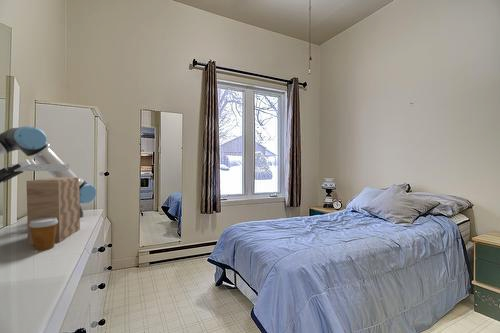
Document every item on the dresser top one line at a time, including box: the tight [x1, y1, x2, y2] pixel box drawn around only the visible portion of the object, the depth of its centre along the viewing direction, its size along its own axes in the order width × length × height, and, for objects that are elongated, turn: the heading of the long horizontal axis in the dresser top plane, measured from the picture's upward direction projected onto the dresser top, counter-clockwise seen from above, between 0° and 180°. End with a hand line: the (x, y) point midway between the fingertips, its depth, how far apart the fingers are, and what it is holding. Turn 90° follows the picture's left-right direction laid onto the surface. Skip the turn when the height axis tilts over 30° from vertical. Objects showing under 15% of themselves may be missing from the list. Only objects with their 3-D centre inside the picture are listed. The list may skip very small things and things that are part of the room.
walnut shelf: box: [26, 176, 81, 246], centre depth 120 cm, size 22×12×28 cm, turn 14°
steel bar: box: [7, 163, 70, 172], centre depth 114 cm, size 4×22×3 cm, turn 104°
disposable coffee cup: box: [29, 218, 58, 252], centre depth 104 cm, size 10×10×12 cm
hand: (31, 161), depth 113 cm, fingers closed on steel bar, 3 cm apart
